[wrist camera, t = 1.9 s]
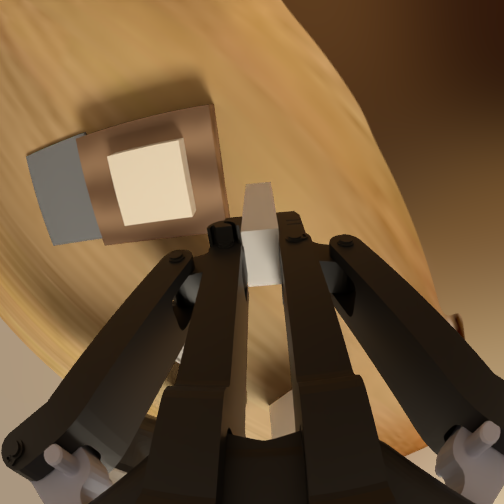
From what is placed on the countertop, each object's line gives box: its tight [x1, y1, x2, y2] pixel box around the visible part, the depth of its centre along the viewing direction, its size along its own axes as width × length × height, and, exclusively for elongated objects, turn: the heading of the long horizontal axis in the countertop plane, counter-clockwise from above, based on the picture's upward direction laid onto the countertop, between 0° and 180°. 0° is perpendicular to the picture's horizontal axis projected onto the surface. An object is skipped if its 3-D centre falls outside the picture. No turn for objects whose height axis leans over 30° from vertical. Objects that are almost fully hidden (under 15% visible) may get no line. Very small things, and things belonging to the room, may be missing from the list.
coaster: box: [107, 138, 196, 226], centre depth 28 cm, size 8×8×2 cm
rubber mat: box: [26, 132, 102, 246], centre depth 33 cm, size 15×12×1 cm
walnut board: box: [76, 105, 230, 245], centre depth 30 cm, size 14×16×4 cm
